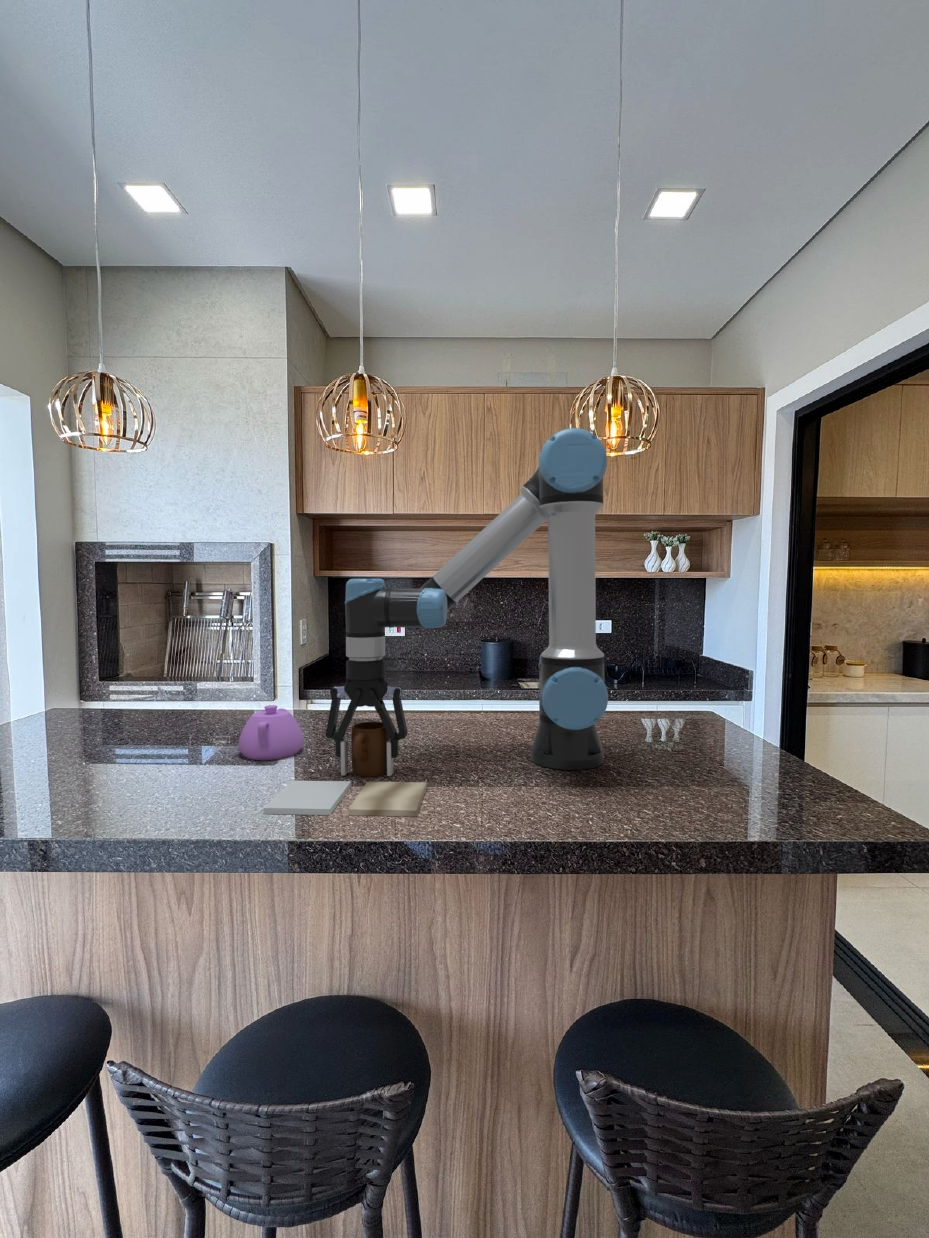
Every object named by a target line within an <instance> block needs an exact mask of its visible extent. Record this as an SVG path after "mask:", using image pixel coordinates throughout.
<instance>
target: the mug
mask: <svg viewBox="0 0 929 1238" xmlns="http://www.w3.org/2000/svg"><path fill="white" fill-rule="evenodd" d="M350 736H351V769H352V772H353V774H354V775H355V776H358V777H362V778H363V777H364V778H374V777H380V776H381V777H382V776H384V775H387V742H388V740H389V739H390V738H389V736H388V733H387V731H386V729H385V727H384V725H383V723H382V721H378V720H377V721H360V722H358V723H355V724H353V725H351V735H350Z"/></svg>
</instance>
